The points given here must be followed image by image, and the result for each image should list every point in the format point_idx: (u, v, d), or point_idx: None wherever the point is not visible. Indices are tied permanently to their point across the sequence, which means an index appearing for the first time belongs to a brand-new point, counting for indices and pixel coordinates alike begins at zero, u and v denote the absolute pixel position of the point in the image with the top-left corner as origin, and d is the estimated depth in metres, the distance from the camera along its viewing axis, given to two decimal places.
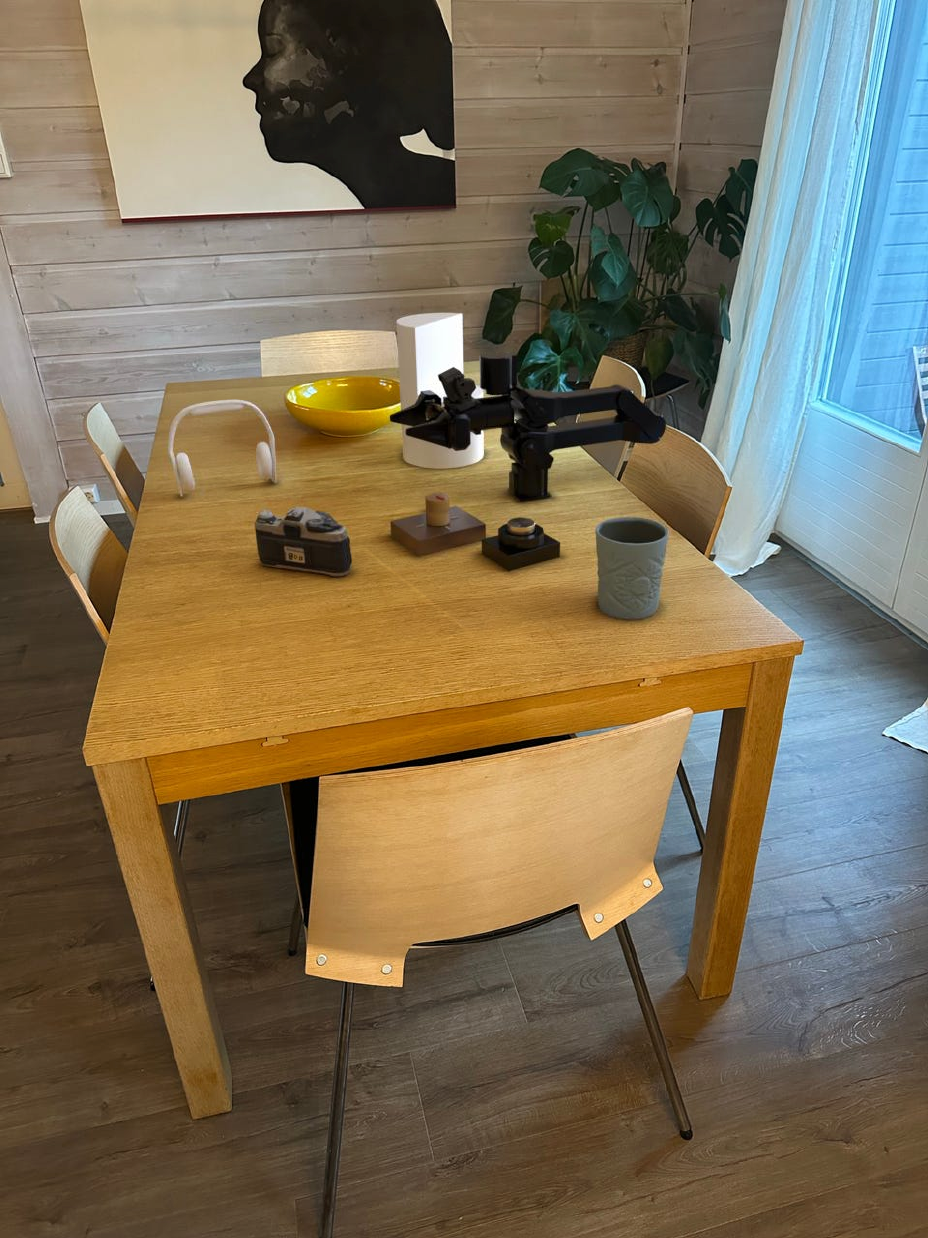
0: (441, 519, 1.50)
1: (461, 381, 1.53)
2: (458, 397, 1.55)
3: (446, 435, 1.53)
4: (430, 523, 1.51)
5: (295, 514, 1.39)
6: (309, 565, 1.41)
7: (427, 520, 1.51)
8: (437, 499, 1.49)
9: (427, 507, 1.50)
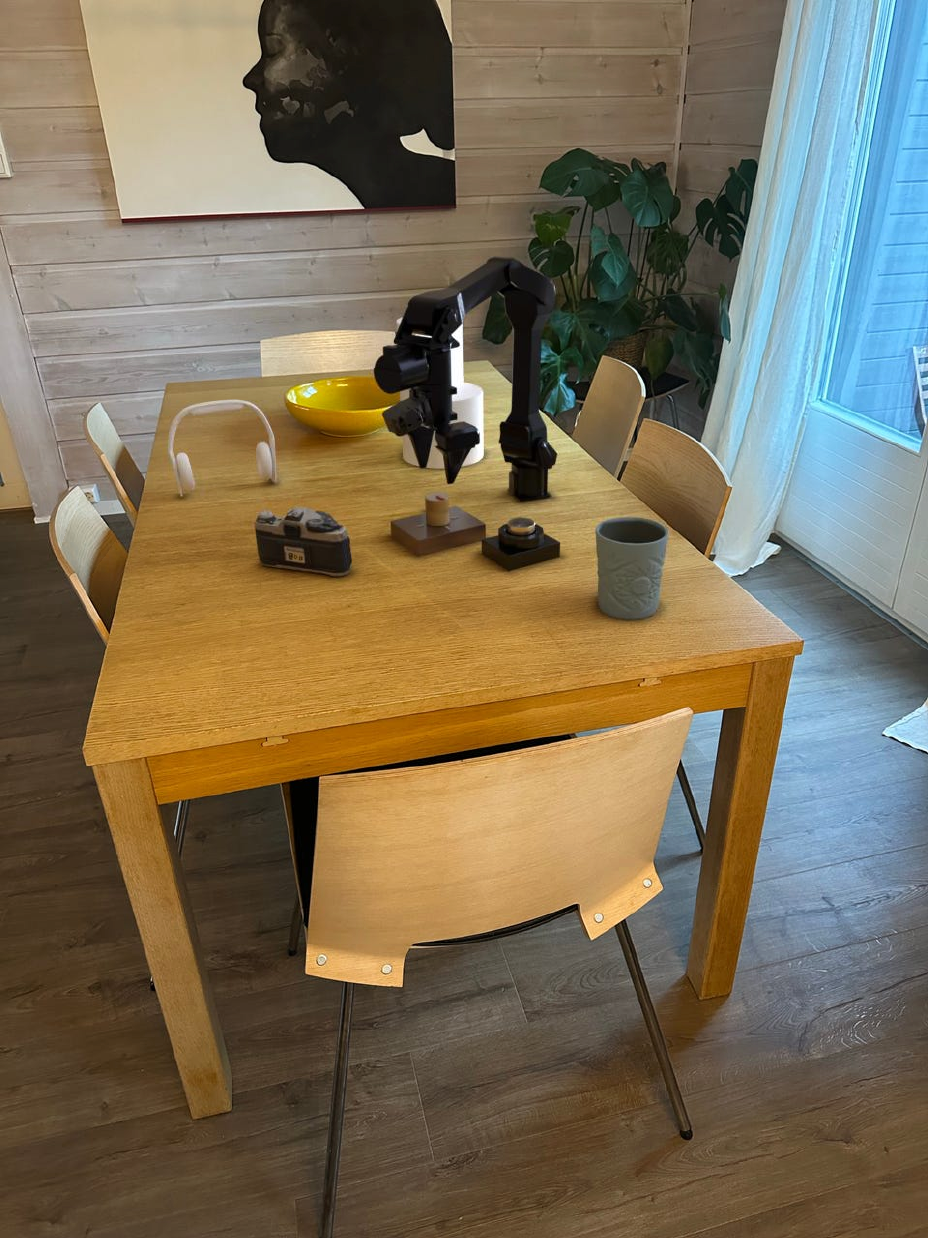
0: (441, 519, 1.50)
1: (405, 425, 1.38)
2: None
3: None
4: (430, 523, 1.51)
5: (295, 514, 1.39)
6: (309, 565, 1.41)
7: (427, 520, 1.51)
8: (437, 499, 1.49)
9: (427, 507, 1.50)
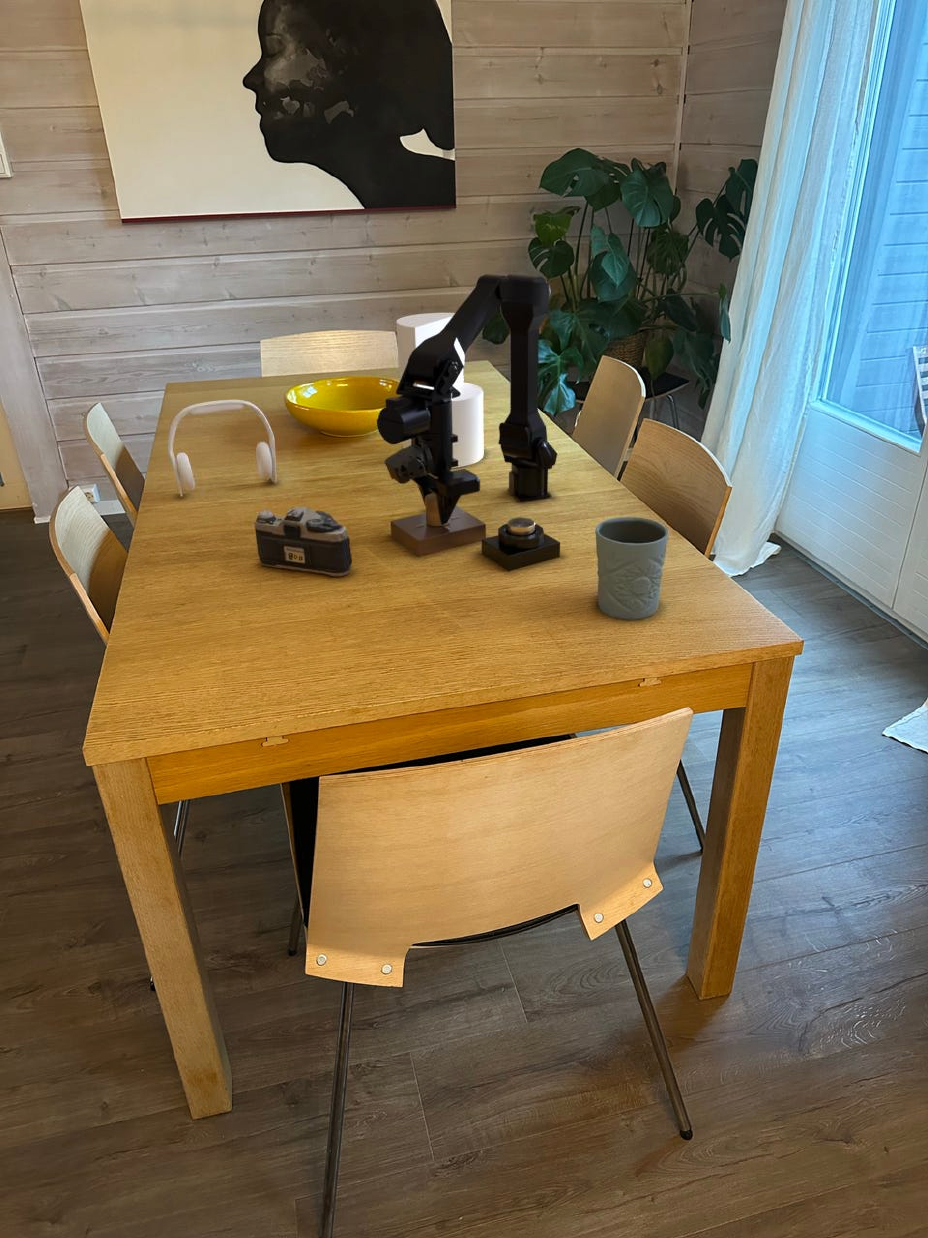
0: None
1: (407, 474, 1.41)
2: None
3: None
4: (430, 523, 1.51)
5: (295, 514, 1.39)
6: (309, 565, 1.41)
7: (427, 520, 1.51)
8: None
9: (427, 507, 1.50)
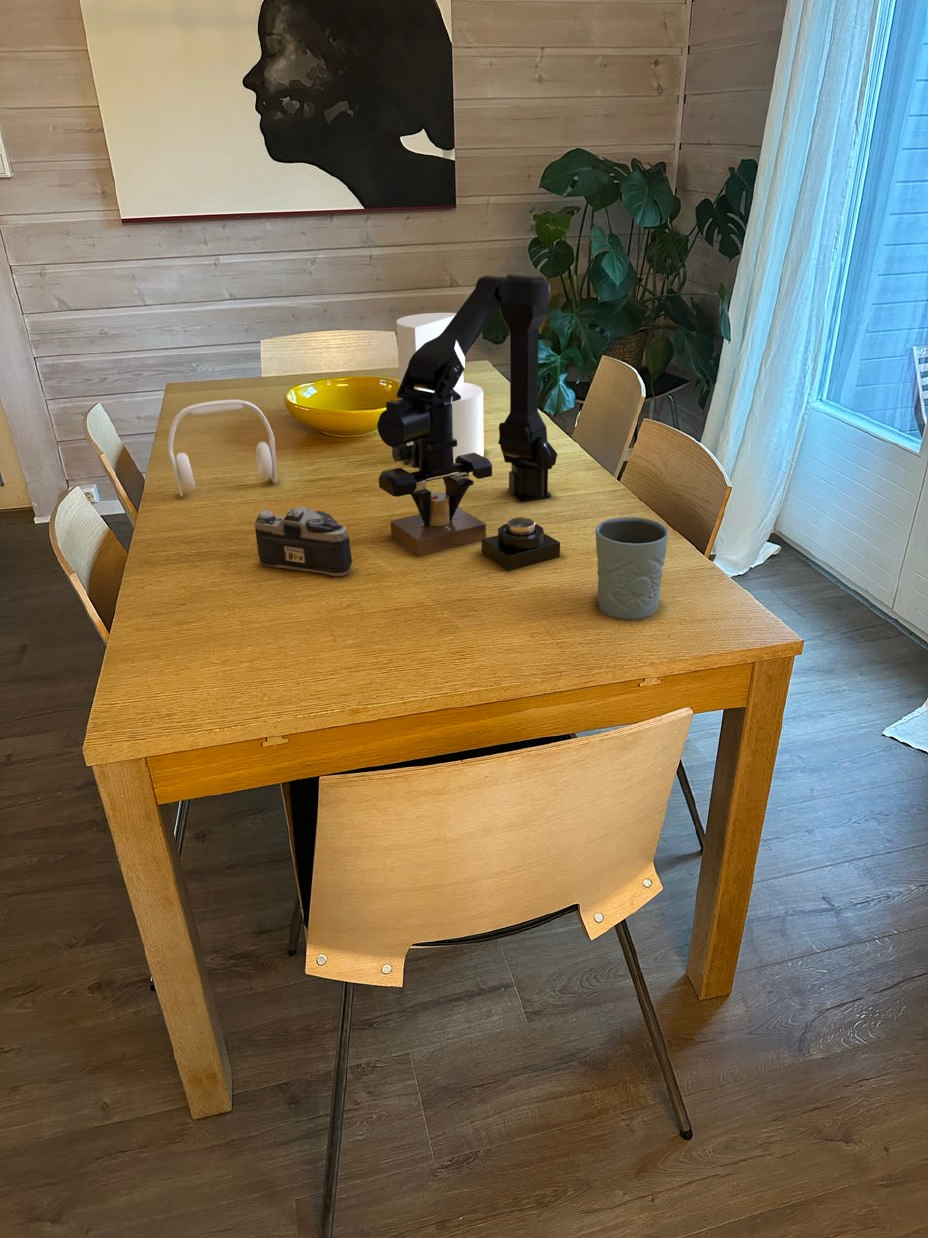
0: None
1: (394, 455, 1.51)
2: (410, 458, 1.50)
3: None
4: None
5: (295, 514, 1.39)
6: (309, 565, 1.41)
7: None
8: None
9: None
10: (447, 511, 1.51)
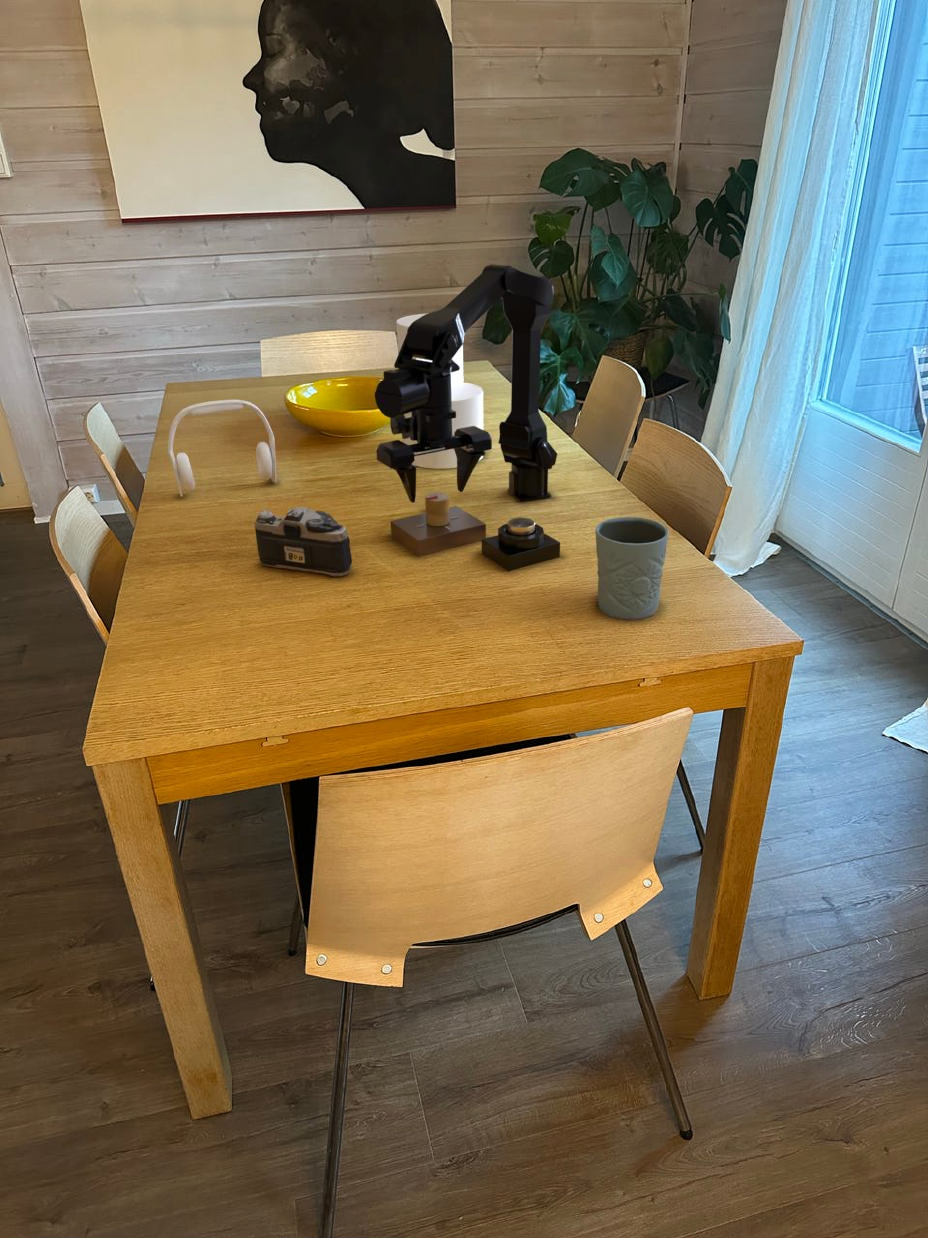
0: (426, 516, 1.51)
1: None
2: (409, 431, 1.48)
3: None
4: None
5: (295, 514, 1.39)
6: (309, 565, 1.41)
7: None
8: (428, 497, 1.51)
9: None
10: (447, 511, 1.51)
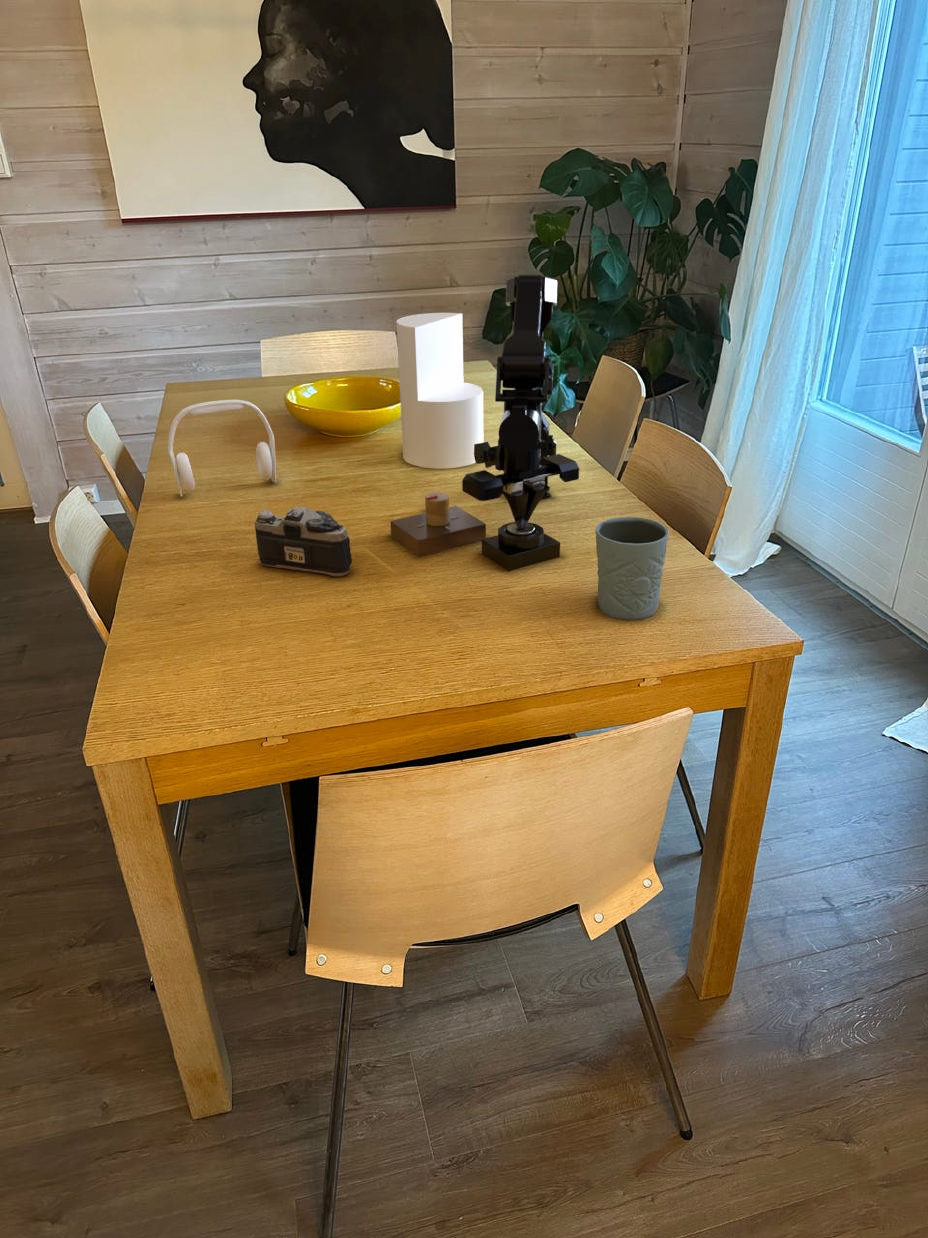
0: (426, 516, 1.51)
1: (475, 456, 1.44)
2: (494, 460, 1.42)
3: None
4: None
5: (295, 514, 1.39)
6: (309, 565, 1.41)
7: None
8: (428, 497, 1.51)
9: None
10: (447, 511, 1.51)
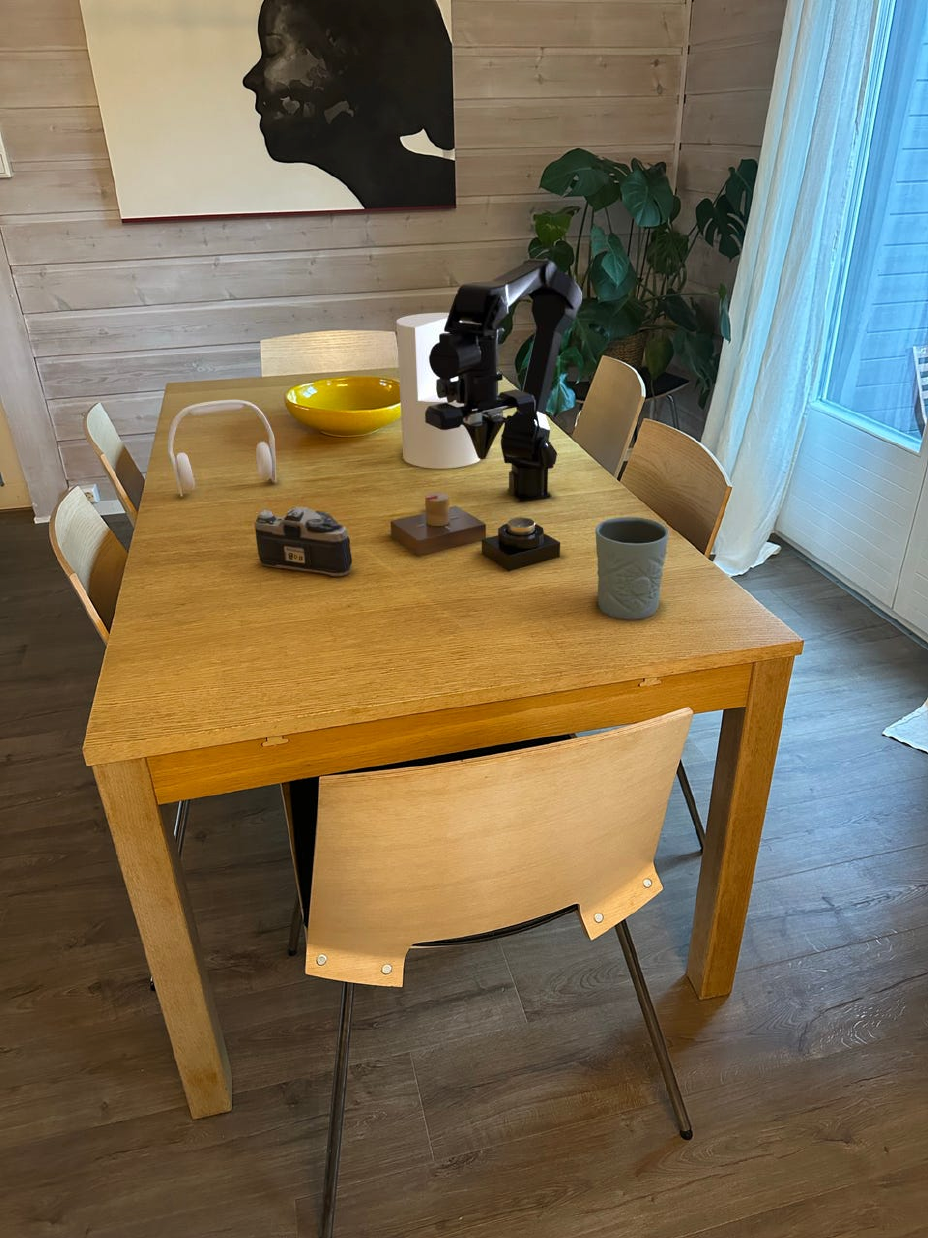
0: (426, 516, 1.51)
1: None
2: (455, 394, 1.51)
3: None
4: None
5: (295, 514, 1.39)
6: (309, 565, 1.41)
7: None
8: (428, 497, 1.51)
9: None
10: (447, 511, 1.51)
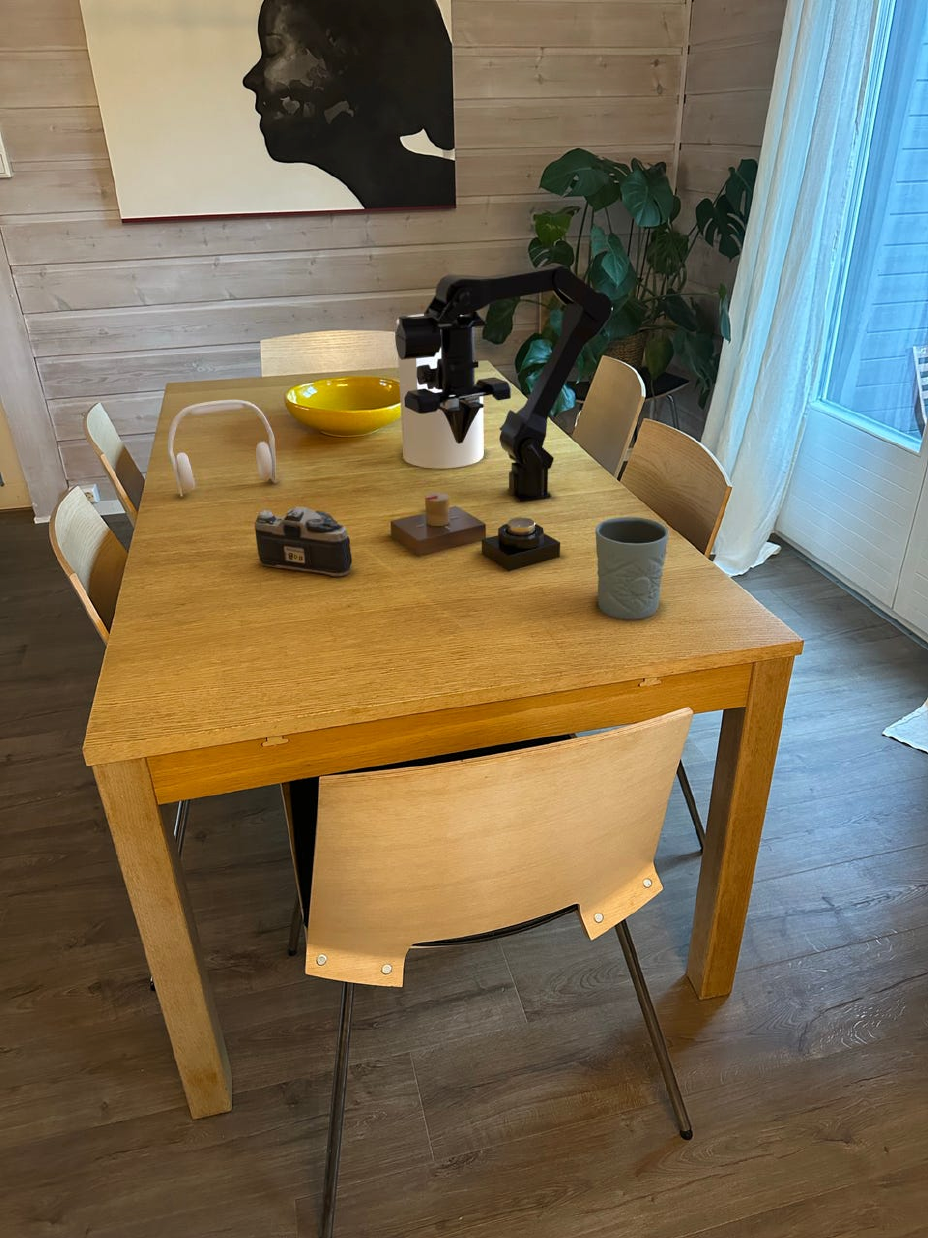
0: (426, 516, 1.51)
1: (418, 378, 1.61)
2: (434, 381, 1.59)
3: None
4: None
5: (295, 514, 1.39)
6: (309, 565, 1.41)
7: None
8: (428, 497, 1.51)
9: None
10: (447, 511, 1.51)
